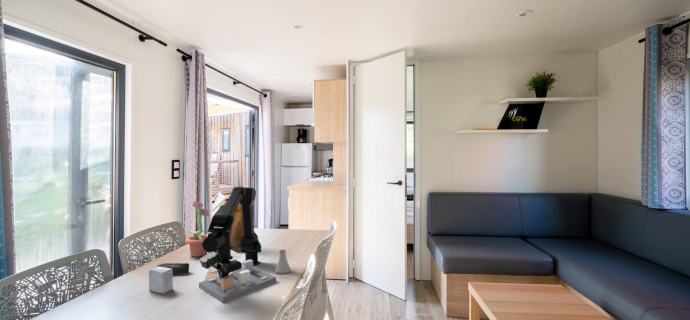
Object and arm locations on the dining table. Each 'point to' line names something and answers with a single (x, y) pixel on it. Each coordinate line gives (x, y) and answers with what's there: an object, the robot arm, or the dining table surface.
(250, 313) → the dining table surface
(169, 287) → the medicine box
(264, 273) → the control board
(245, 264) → the grey small block
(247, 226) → the robot arm
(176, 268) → the dark green block
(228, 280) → the salmon pink cuboid
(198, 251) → the decorative flower
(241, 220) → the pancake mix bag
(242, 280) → the ivory cuboid
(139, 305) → the dining table surface
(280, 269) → the flask
